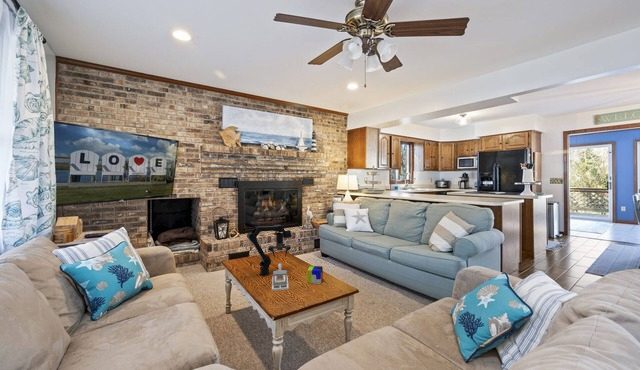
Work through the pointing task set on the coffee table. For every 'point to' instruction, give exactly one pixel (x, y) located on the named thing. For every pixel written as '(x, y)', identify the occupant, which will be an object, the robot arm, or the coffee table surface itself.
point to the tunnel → (278, 273)
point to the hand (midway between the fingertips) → (279, 257)
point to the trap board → (280, 284)
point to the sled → (280, 275)
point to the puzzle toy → (315, 274)
